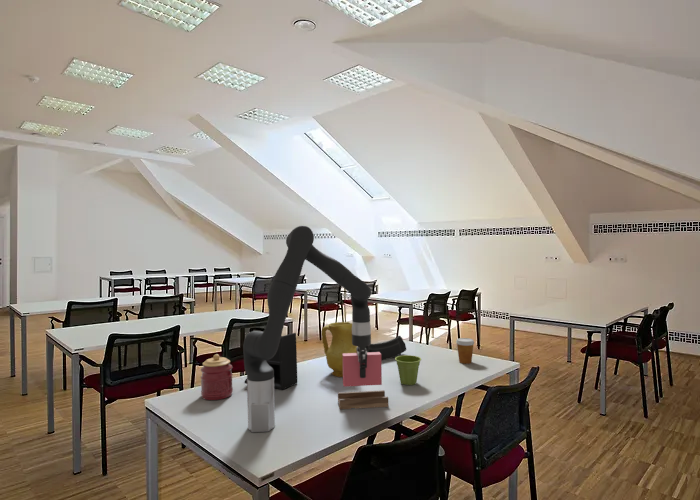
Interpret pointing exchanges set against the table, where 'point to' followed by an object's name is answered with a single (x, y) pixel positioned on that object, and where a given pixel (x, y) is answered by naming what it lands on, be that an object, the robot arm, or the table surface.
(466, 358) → the disposable coffee cup
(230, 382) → the canister
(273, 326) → the robot arm
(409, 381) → the plant pot
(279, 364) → the bookend
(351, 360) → the book
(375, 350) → the magazine
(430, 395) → the table surface
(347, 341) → the pitcher
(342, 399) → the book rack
